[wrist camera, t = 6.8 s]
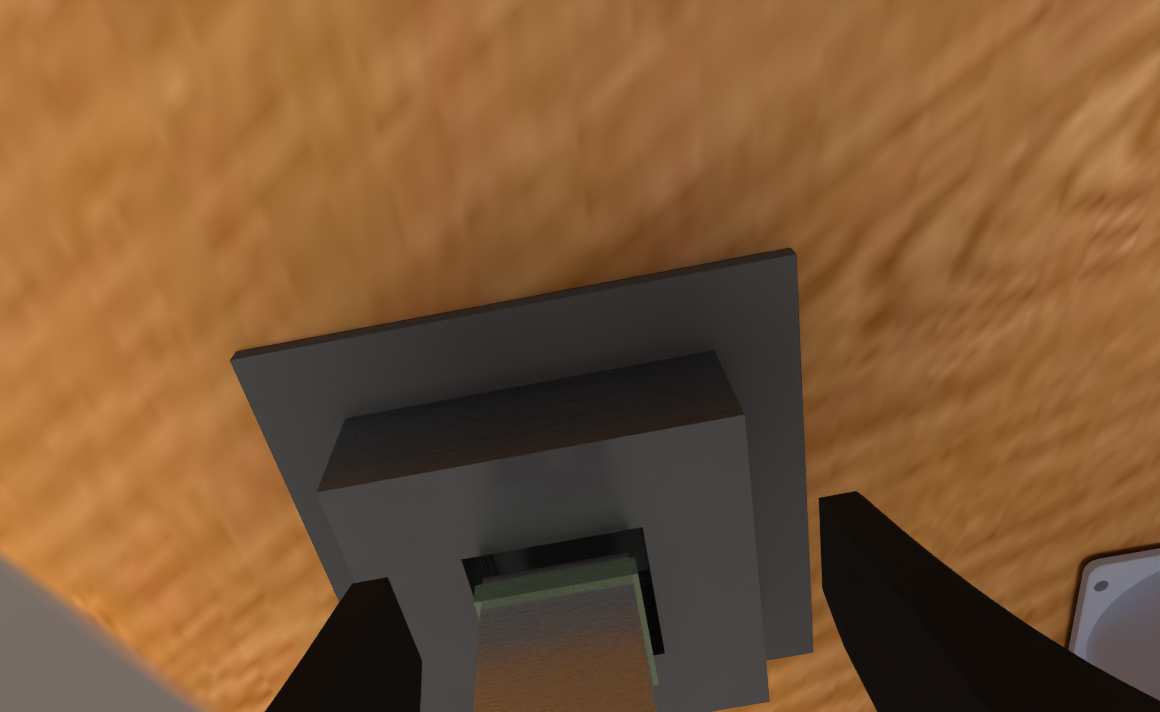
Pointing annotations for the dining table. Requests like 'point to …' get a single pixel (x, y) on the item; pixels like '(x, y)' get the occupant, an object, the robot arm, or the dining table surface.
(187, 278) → the dining table surface
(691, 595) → the jack housing
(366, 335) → the base mat
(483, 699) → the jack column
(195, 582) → the dining table surface
